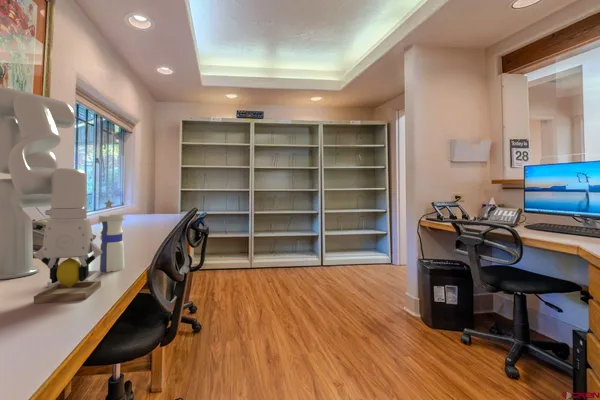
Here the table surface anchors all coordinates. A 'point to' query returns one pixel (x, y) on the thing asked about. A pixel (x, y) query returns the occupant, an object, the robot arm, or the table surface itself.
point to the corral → (92, 276)
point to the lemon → (68, 272)
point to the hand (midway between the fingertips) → (69, 280)
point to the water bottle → (111, 242)
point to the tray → (67, 292)
